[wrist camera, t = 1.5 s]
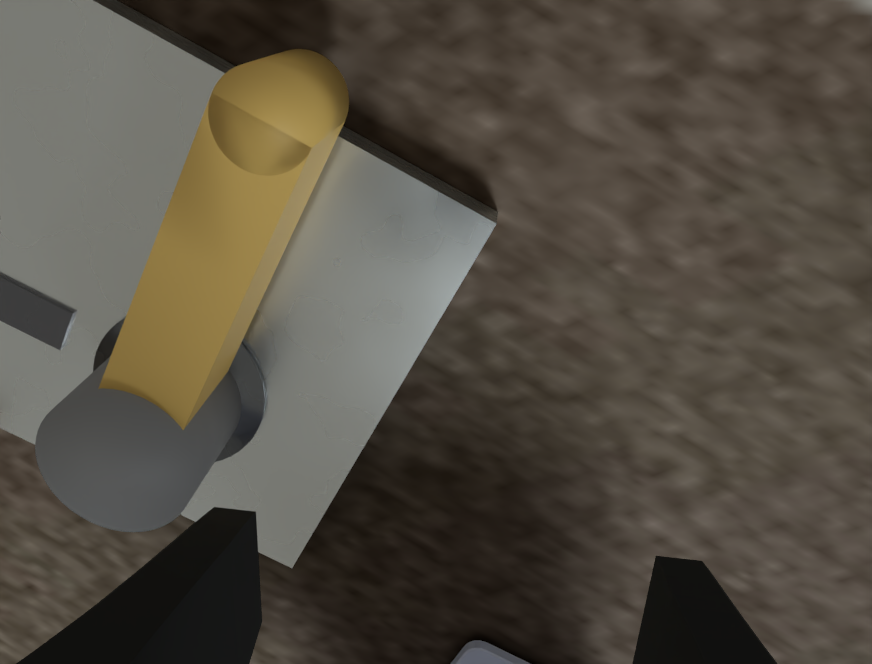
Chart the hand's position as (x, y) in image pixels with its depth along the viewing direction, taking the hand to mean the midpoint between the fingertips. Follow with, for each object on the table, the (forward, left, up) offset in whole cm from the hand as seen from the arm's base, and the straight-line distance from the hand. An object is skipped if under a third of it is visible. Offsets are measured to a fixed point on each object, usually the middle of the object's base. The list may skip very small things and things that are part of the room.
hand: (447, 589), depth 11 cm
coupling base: (-3, +9, -10) cm, 14 cm away
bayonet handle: (-2, +6, -8) cm, 10 cm away
